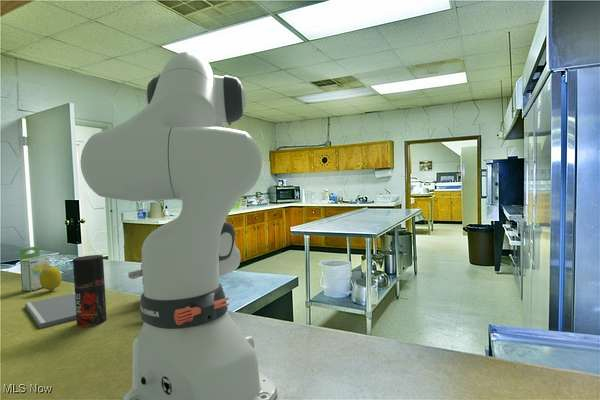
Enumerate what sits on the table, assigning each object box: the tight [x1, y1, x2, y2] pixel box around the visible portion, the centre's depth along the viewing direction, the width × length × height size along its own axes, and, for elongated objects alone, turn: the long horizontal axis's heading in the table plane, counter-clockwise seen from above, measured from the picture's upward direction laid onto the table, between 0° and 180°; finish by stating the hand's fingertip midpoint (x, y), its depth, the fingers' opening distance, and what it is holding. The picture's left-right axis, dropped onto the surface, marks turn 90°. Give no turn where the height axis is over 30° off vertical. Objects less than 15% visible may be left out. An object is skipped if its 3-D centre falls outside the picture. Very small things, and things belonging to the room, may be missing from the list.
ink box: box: [19, 245, 51, 292], centre depth 110 cm, size 7×4×13 cm, turn 168°
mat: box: [24, 292, 77, 329], centre depth 88 cm, size 22×12×1 cm, turn 46°
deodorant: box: [72, 254, 108, 328], centre depth 79 cm, size 6×6×15 cm
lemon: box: [40, 265, 63, 291], centre depth 106 cm, size 6×6×8 cm
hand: (136, 278), depth 86 cm, fingers open, 8 cm apart
